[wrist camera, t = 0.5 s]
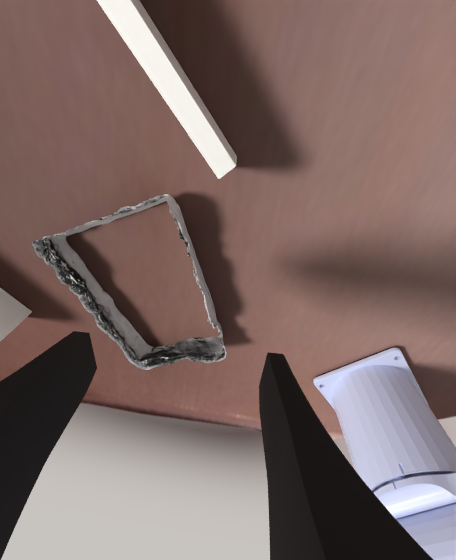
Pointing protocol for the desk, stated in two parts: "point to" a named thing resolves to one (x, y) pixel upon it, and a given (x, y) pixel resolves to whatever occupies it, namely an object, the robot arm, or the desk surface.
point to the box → (176, 92)
